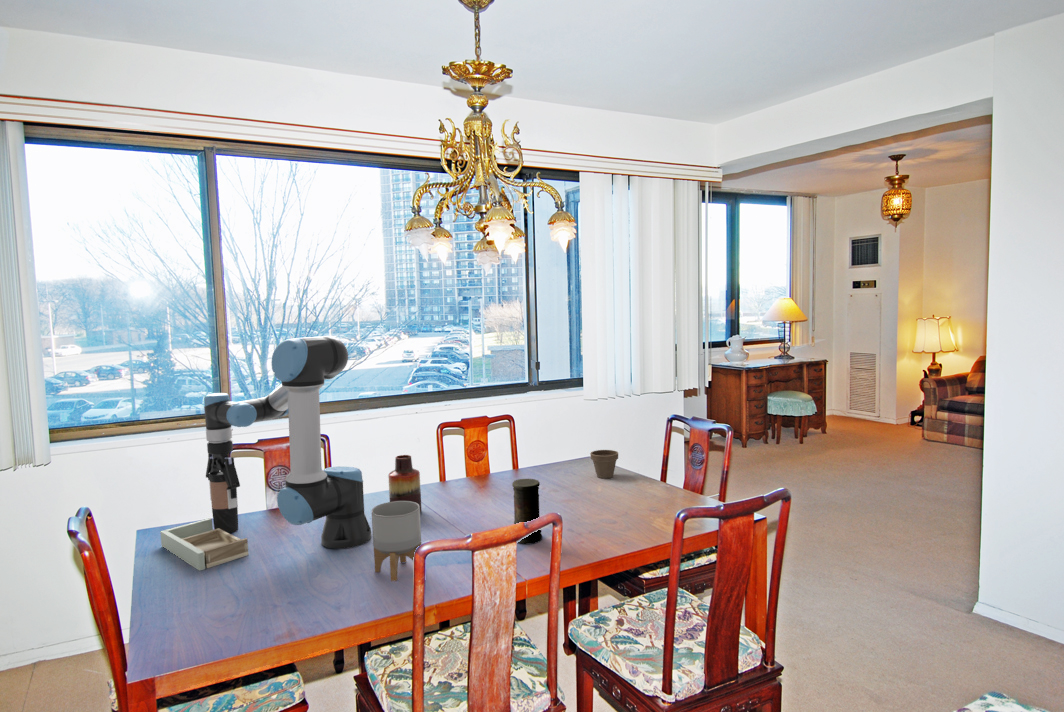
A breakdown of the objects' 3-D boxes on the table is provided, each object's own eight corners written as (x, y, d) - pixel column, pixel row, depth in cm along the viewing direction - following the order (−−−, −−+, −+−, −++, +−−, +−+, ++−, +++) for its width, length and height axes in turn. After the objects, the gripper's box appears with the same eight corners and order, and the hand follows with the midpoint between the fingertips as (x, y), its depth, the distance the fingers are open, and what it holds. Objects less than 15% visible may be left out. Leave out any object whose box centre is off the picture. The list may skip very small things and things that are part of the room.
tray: (248, 554, 194) (247, 538, 193) (207, 568, 185) (205, 551, 184) (219, 539, 207) (218, 524, 206) (179, 551, 198) (178, 535, 197)
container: (512, 534, 204) (510, 478, 202) (540, 532, 204) (538, 477, 203) (513, 545, 195) (511, 487, 193) (543, 543, 196) (541, 485, 194)
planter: (417, 580, 173) (414, 515, 171) (369, 581, 173) (365, 516, 171) (426, 560, 186) (423, 500, 184) (381, 561, 186) (378, 501, 184)
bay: (251, 553, 194) (250, 537, 194) (199, 570, 183) (198, 553, 183) (211, 532, 213) (209, 518, 213) (161, 546, 202) (160, 531, 202)
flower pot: (591, 472, 272) (591, 449, 271) (618, 472, 270) (618, 449, 269) (590, 480, 260) (589, 455, 259) (618, 480, 259) (618, 456, 258)
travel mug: (229, 535, 210) (224, 475, 208) (208, 534, 212) (203, 474, 210) (244, 527, 218) (239, 469, 216) (224, 526, 219) (219, 468, 217)
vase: (384, 517, 224) (381, 459, 222) (401, 507, 234) (398, 452, 232) (410, 520, 220) (407, 461, 218) (427, 510, 230) (424, 454, 228)
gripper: (248, 443, 207) (252, 508, 209) (215, 433, 223) (219, 493, 225) (224, 448, 201) (229, 514, 203) (192, 437, 217) (196, 498, 220)
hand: (223, 503), depth 214 cm, fingers open, 13 cm apart
